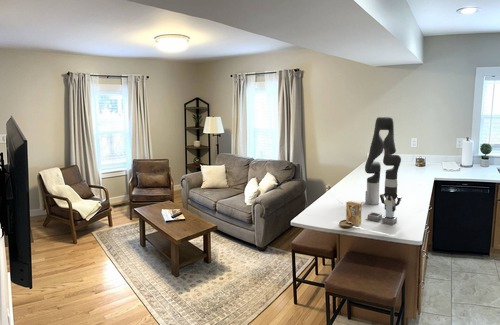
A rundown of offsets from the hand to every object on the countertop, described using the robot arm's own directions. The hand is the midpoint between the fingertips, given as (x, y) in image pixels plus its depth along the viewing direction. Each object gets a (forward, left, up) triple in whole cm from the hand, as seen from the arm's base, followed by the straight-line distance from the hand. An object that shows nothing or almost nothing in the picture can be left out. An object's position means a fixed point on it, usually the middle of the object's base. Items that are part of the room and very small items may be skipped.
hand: (390, 210), depth 225 cm
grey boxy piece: (-5, 0, -9) cm, 10 cm away
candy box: (-17, -17, -9) cm, 26 cm away
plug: (0, 0, -4) cm, 4 cm away
